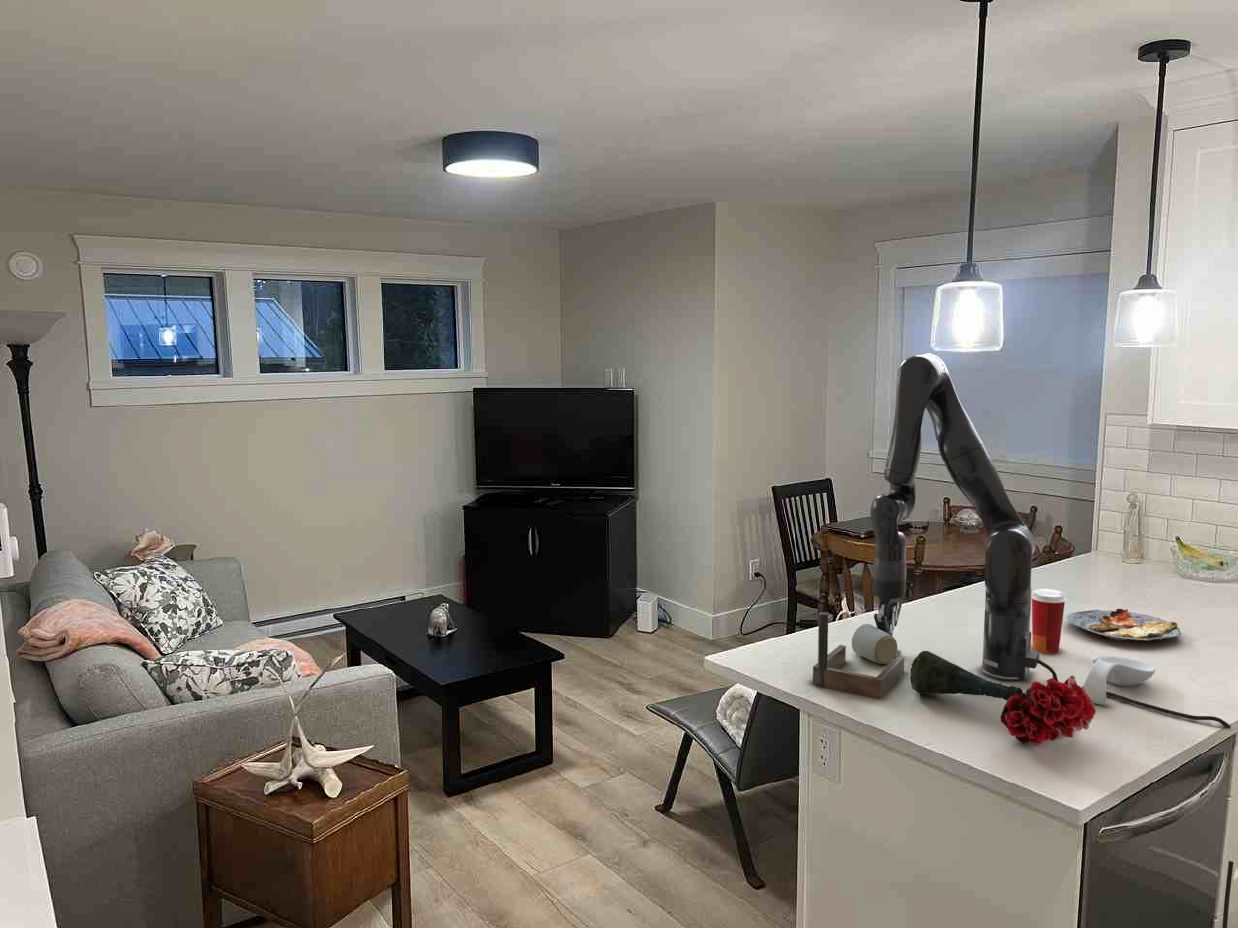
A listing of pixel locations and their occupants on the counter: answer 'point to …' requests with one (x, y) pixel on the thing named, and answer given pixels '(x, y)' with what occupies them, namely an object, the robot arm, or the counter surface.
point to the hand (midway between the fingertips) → (886, 646)
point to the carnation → (1012, 699)
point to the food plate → (1124, 625)
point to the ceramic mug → (874, 644)
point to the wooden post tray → (845, 680)
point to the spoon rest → (1115, 675)
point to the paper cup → (1047, 620)
